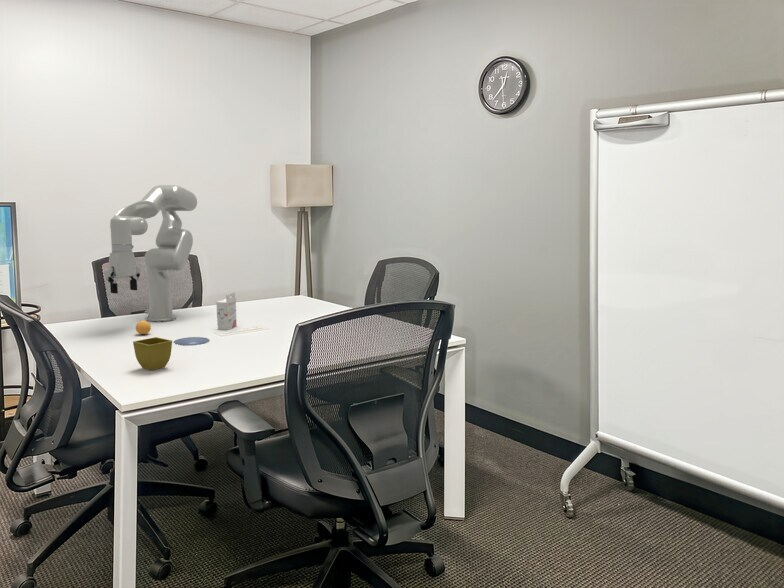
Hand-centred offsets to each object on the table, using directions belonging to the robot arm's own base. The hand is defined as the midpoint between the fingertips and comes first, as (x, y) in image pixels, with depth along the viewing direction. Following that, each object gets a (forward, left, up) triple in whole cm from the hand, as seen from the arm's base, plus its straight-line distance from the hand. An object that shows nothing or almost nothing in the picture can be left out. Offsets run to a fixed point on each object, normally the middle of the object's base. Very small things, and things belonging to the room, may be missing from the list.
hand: (124, 291), depth 253 cm
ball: (+10, 0, -14) cm, 17 cm away
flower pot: (+51, -34, -17) cm, 63 cm away
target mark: (+35, 0, -17) cm, 38 cm away
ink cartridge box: (+30, +26, -17) cm, 43 cm away
